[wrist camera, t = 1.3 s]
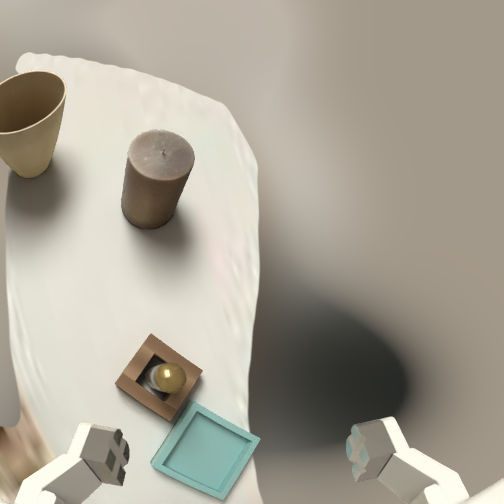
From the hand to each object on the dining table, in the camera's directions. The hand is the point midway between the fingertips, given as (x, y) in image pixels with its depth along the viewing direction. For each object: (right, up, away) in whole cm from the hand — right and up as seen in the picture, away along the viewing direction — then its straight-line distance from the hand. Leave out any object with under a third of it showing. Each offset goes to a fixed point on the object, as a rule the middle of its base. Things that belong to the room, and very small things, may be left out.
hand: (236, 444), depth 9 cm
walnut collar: (-13, -12, +31) cm, 36 cm away
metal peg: (-13, -12, +31) cm, 36 cm away
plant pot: (-40, +23, +34) cm, 57 cm away
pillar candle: (-18, +15, +42) cm, 48 cm away
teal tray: (-7, -23, +29) cm, 38 cm away
